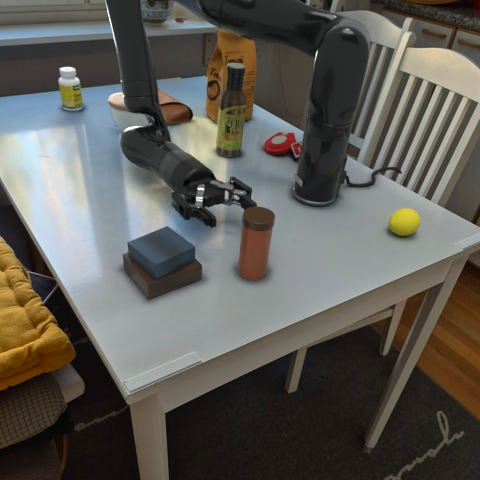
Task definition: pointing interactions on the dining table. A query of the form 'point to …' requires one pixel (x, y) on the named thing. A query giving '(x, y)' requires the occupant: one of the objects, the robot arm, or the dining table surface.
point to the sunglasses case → (174, 109)
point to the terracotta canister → (255, 242)
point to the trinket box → (124, 113)
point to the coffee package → (225, 53)
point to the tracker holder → (283, 144)
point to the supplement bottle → (70, 89)
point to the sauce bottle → (231, 113)
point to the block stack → (161, 262)
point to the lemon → (404, 221)
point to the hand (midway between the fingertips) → (235, 216)
